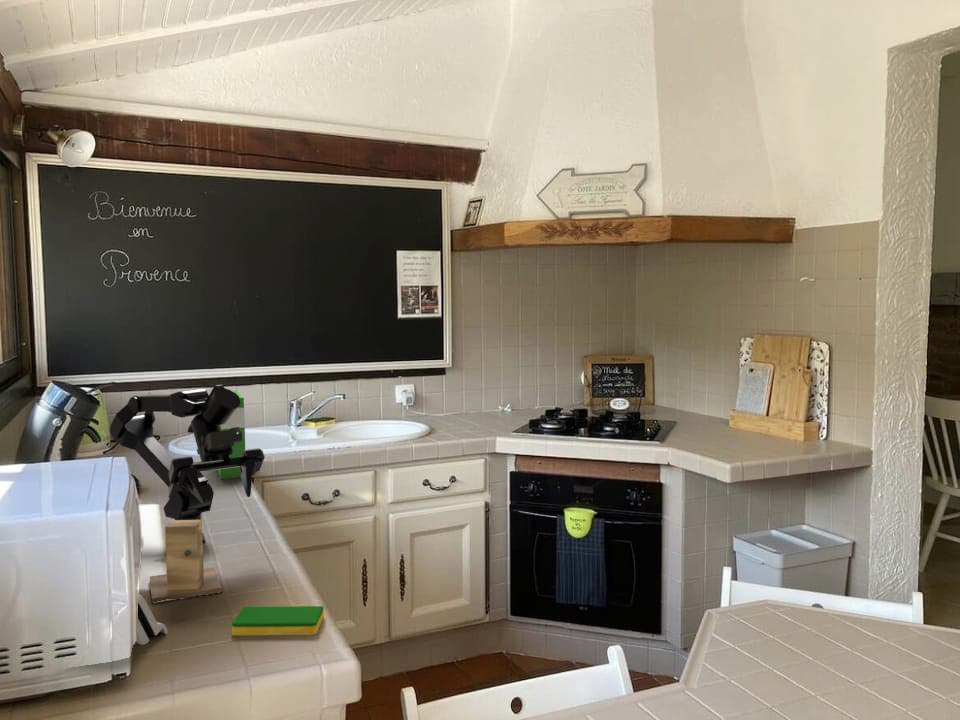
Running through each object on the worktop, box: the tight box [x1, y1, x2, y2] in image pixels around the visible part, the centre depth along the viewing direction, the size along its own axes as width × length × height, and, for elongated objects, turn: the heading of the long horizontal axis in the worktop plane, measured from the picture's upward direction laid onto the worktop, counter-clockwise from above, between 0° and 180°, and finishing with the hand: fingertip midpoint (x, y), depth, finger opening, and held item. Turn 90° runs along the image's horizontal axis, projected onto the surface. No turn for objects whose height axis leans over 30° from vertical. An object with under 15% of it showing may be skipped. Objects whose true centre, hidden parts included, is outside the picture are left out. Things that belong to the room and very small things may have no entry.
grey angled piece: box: [136, 593, 169, 646], centre depth 130 cm, size 17×5×10 cm, turn 61°
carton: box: [216, 390, 246, 480], centre depth 243 cm, size 18×7×24 cm, turn 23°
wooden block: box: [164, 519, 205, 590], centre depth 147 cm, size 4×6×12 cm
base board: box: [149, 567, 223, 603], centre depth 150 cm, size 12×12×1 cm
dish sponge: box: [231, 605, 325, 636], centre depth 133 cm, size 7×14×2 cm, turn 91°
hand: (227, 499), depth 161 cm, fingers open, 9 cm apart
